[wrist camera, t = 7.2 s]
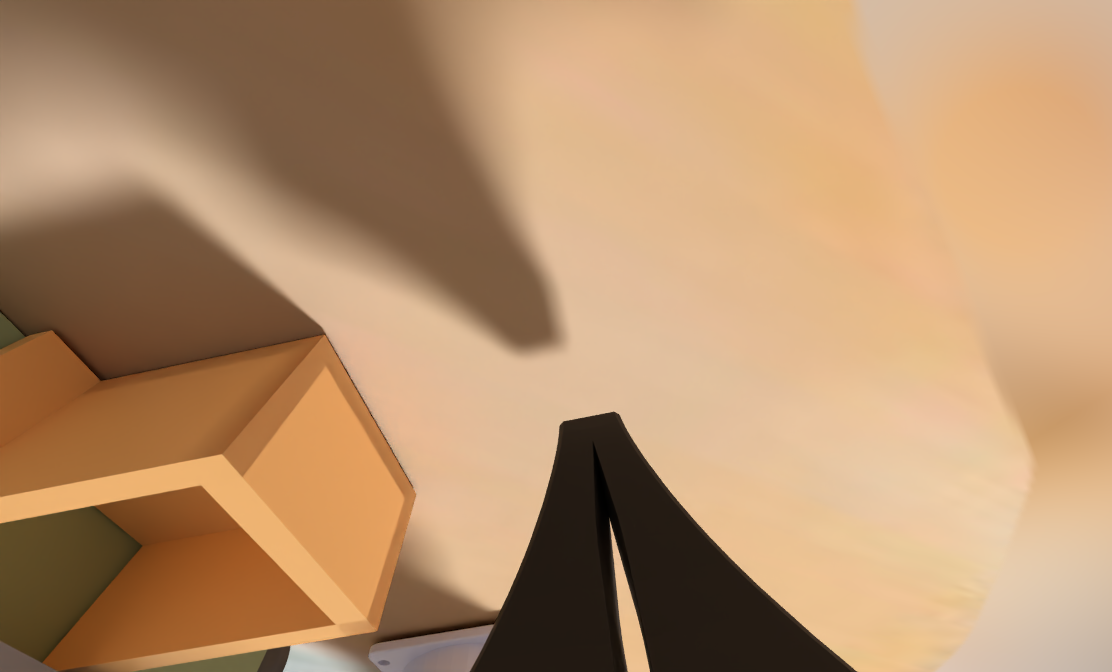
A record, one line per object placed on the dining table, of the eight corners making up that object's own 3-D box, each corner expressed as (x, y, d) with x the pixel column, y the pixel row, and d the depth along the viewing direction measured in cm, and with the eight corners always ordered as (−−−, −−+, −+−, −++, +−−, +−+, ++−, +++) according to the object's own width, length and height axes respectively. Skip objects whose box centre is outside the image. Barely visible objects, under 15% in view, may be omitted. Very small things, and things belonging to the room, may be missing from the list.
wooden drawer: (432, 523, 15) (401, 659, 11) (198, 565, 15) (97, 708, 12) (292, 278, 10) (157, 381, 6) (-47, 351, 10) (-347, 485, 7)
